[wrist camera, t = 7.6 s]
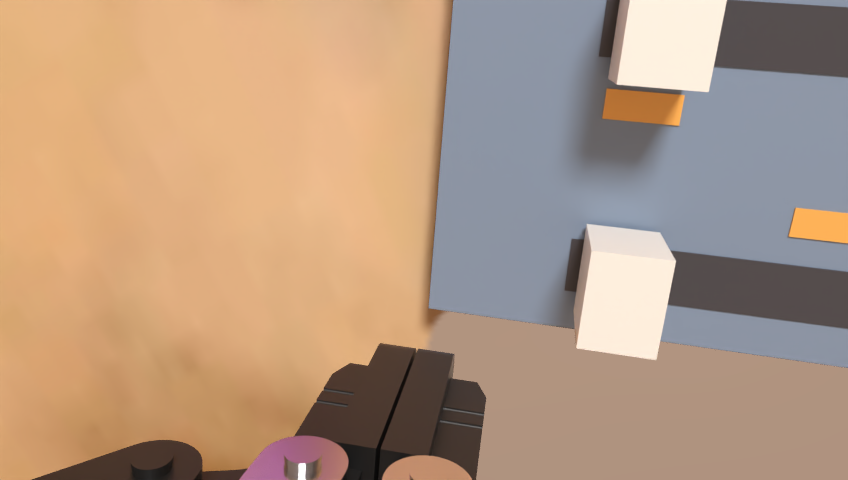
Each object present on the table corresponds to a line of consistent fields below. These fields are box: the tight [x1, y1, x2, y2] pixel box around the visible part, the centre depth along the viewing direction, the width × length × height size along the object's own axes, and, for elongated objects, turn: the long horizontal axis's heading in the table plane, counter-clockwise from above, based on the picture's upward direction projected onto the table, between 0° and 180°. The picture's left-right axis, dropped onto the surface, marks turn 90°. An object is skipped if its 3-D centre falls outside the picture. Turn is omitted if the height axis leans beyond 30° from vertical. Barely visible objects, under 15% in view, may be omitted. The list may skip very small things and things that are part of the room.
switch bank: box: [429, 0, 848, 368], centre depth 27 cm, size 24×16×2 cm, turn 86°
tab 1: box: [608, 0, 727, 92], centre depth 23 cm, size 3×4×4 cm
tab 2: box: [573, 224, 676, 360], centre depth 26 cm, size 3×4×4 cm
